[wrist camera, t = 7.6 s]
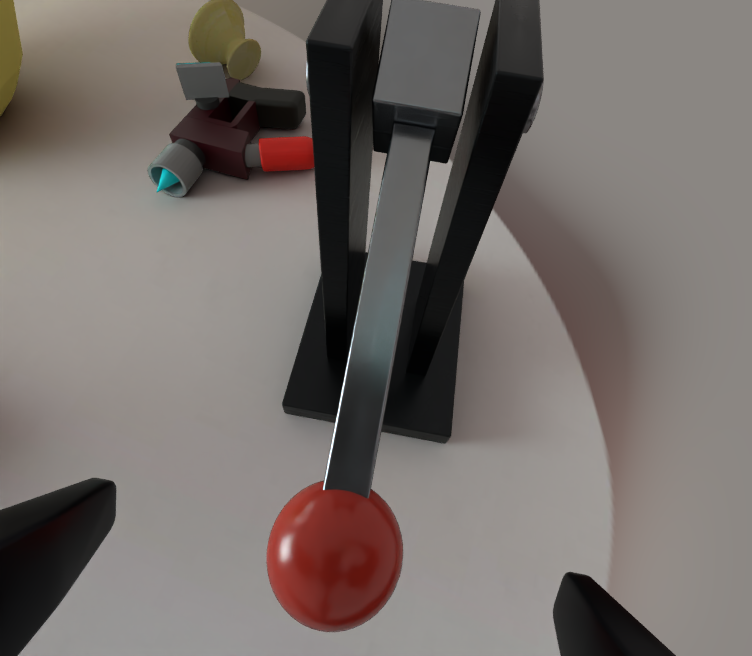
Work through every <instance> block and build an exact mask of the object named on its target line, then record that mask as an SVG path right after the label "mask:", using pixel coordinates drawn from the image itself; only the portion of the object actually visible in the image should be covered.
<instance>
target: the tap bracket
mask: <svg viewBox="0 0 752 656" xmlns="http://www.w3.org/2000/svg"><path fill="white" fill-rule="evenodd" d="M382 5H383V0H327V1H326V3H325V5H324V7H323V9H322V11H321V12H320V15H319V16H318V18H317V21H316V22H315V24H314V26H313V28H312V30H311V32H310V34H309V36H308V38H307V40H306V51H307V65H306V83H307V90H308V94H309V96H310V111H311V126H312V140H313V155H314V170H315V185H316V200H317V215H318V230H319V245H320V260H321V277H320V280H319V283H318V287H317V290H316V293H315V297H314V300H313V303H312V306H311V310H310V313H309V316H308V320H307V323H306V326H305V330H304V333H303V336H302V339H301V343H300V346H299V349H298V353H297V356H296V359H295V363H294V366H293V369H292V372H291V376H290V379H289V382H288V386H287V389H286V392H285V396H284V399H283V402H282V406H283V409H284V412H285V413H287V414H292V415H298V416H303V417H308V418H313V419H319V420H324V421H329V422H334V423H335V422H336V417H337V411H338V406H339V401H340V396H341V391H342V386H343V380H344V375H345V370H346V365H347V360H348V354H349V349H350V344H351V339H352V334H353V328H354V323H355V318H356V313H357V308H358V302H359V297H360V292H361V287H362V282H363V276H364V271H365V266H366V261H367V256H368V253H367V252H365V250H366V235H367V221H368V206H369V192H370V178H371V163H372V149H373V124H372V95H373V90H374V85H375V80H376V75H377V70H378V62H379V48H380V32H381V19H382ZM543 80H544V78H543V60H542V41H541V22H540V4H539V0H496V1H495V5H494V8H493V12H492V16H491V20H490V24H489V27H488V31H487V35H486V39H485V43H484V47H483V50H482V54H481V58H480V62H479V66H478V69H477V73H476V77H475V81H474V85H473V88H472V92H471V96H470V100H469V104H468V107H467V111H466V115H465V119H464V123H463V127H462V130H461V134H460V138H459V142H458V146H457V150H456V153H455V157H454V161H453V165H452V168H451V172H450V176H449V180H448V184H447V187H446V191H445V195H444V199H443V203H442V207H441V210H440V214H439V218H438V222H437V226H436V229H435V233H434V237H433V241H432V245H431V248H430V252H429V256H428V260H427V263H423V262H418V261H412V264H411V269H410V275H409V280H408V286H407V291H406V297H405V303H404V308H403V314H402V319H401V325H400V330H399V336H398V341H397V347H396V352H395V358H394V363H393V369H392V374H391V380H390V386H389V391H388V397H387V402H386V408H385V413H384V419H383V424H382V430H381V431H382V432H387V433H392V434H397V435H403V436H408V437H413V438H418V439H423V440H429V441H434V442H439V443H446V442H447V441H448V439H449V438H450V437H451V430H452V418H453V406H454V394H455V382H456V370H457V358H458V346H459V334H460V322H461V310H462V298H463V286H464V279H465V276H466V274H467V271H468V269H469V266H470V264H471V261H472V259H473V256H474V254H475V251H476V249H477V246H478V244H479V241H480V239H481V236H482V234H483V231H484V229H485V226H486V224H487V221H488V219H489V216H490V214H491V211H492V209H493V206H494V203H495V201H496V198H497V196H498V193H499V191H500V189H501V186H502V184H503V181H504V179H505V176H506V173H507V171H508V168H509V166H510V163H511V161H512V158H513V156H514V153H515V151H516V148H517V146H518V143H519V141H520V138H521V136H522V133H527V132H528V130H529V129H530V127H531V125H532V123H533V121H534V119H535V116H536V113H537V110H538V107H539V104H540V100H541V96H542V90H543Z"/></svg>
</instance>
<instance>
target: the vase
mask: <svg viewBox="0 0 752 656" xmlns="http://www.w3.org/2000/svg"><path fill="white" fill-rule="evenodd" d="M22 55H23V54H22V48H21V42H20V36H19V31H18V25H17V19H16V13H15V7H14V2H13V0H0V116H1V115H2V113H3V112H4V110H5V109H6V107H7V106H8V104H9V102H10V101H11V99H12V97H13V94H14V92H15V89H16V86H17V83H18V77H19V72H20V66H21V60H22Z"/></svg>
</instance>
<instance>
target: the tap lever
mask: <svg viewBox="0 0 752 656" xmlns="http://www.w3.org/2000/svg"><path fill="white" fill-rule="evenodd" d="M479 19H480V10H479V9H474V8H468V7H461V6H455V5H449V4H442V3H436V2H429V1H423V0H391V5H390V10H389V15H388V20H387V25H386V30H385V35H384V40H383V45H382V50H381V55H380V60H379V65H378V70H377V75H376V80H375V85H374V90H373V95H372V124H373V150H374V151H376V152H381V153H387V157H386V162H385V167H384V172H383V178H382V183H381V188H380V193H379V198H378V204H377V209H376V214H375V219H374V224H373V230H372V235H371V240H370V245H369V250H368V256H367V261H366V266H365V271H364V276H363V282H362V287H361V292H360V297H359V302H358V308H357V313H356V318H355V323H354V328H353V334H352V339H351V344H350V349H349V354H348V360H347V365H346V370H345V375H344V380H343V386H342V391H341V396H340V401H339V406H338V411H337V417H336V422H335V427H334V432H333V437H332V443H331V448H330V453H329V458H328V463H327V469H326V474H325V479H324V481H320V482H317V483H314V484H312V485H310V486H308V487H306V488H304V489H303V490H301V491H300V492H299V493H297V494H296V495H295V496H294V497H293V498H292V499H291V500H290V501H289V502H288V503H287V504H286V505H285V506H284V508H283V509H282V510H281V512H280V513H279V515H278V517H277V519H276V521H275V523H274V525H273V527H272V530H271V533H270V537H269V540H268V547H267V571H268V576H269V581H270V584H271V587H272V590H273V592H274V594H275V596H276V598H277V600H278V601H279V603H280V604H281V606H282V607H283V608H284V610H285V611H286V612H287V613H288V614H289V615H290V616H291V617H292V618H294V619H295V620H296V621H298V622H299V623H301V624H302V625H304V626H306V627H309V628H311V629H314V630H318V631H323V632H340V631H346V630H349V629H353V628H355V627H357V626H360V625H362V624H364V623H365V622H367V621H368V620H370V619H371V618H372V617H374V616H375V615H376V614H377V613H378V612H379V611H380V610H381V609H382V608H383V607H384V605H385V604H386V603H387V601H388V600H389V599H390V597H391V595H392V594H393V592H394V590H395V588H396V585H397V582H398V580H399V577H400V573H401V569H402V561H403V542H402V535H401V532H400V528H399V525H398V522H397V520H396V517H395V515H394V514H393V512H392V510H391V508H390V507H389V506H388V504H387V503H386V502H385V501H384V500H383V499H382V498H381V497H380V496H379V495H378V494H377V493H376V492H375V491H373V490H372V489H371V485H372V480H373V474H374V468H375V463H376V457H377V452H378V446H379V441H380V435H381V430H382V424H383V419H384V413H385V408H386V402H387V397H388V391H389V386H390V380H391V374H392V369H393V363H394V358H395V352H396V347H397V341H398V336H399V330H400V325H401V319H402V314H403V308H404V303H405V297H406V291H407V286H408V280H409V275H410V269H411V264H412V258H413V253H414V247H415V242H416V236H417V231H418V225H419V220H420V214H421V209H422V203H423V197H424V192H425V186H426V181H427V175H428V170H429V164H430V161H434V162H440V163H447V162H448V160H449V157H450V153H451V150H452V147H453V144H454V141H455V138H456V135H457V131H458V128H459V125H460V122H461V119H462V115H463V111H464V105H465V99H466V93H467V88H468V82H469V76H470V71H471V65H472V59H473V53H474V48H475V42H476V36H477V30H478V25H479Z"/></svg>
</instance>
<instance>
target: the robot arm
mask: <svg viewBox="0 0 752 656" xmlns="http://www.w3.org/2000/svg"><path fill="white" fill-rule="evenodd" d="M115 516H116V485H115V483H114V482H113V481H110V480H105V479H100V478H91V479H88V480H85V481H82V482H79V483H76V484H73V485H71V486H68V487H65V488H62V489H59V490H56V491H54V492H51V493H48V494H45V495H42V496H39V497H36V498H34V499H31V500H28V501H25V502H22V503H19V504H17V505H14V506H11V507H8V508H5V509H2V510H0V656H18V655H19V653H20V652H21V651H22V650H23V648H24V647H25V646H26V645H27V644H28V642H29V641H30V640H31V639H32V637H33V636H34V635H35V634H36V633H37V631H38V630H39V629H40V628H41V626H42V625H43V624H44V623H45V622H46V620H47V619H48V618H49V617H50V615H51V614H52V613H53V611H54V610H55V609H56V608H57V606H58V605H59V604H60V602H61V601H62V600H63V598H64V597H65V595H66V594H67V593H68V591H69V590H70V588H71V587H72V585H73V584H74V583H75V581H76V580H77V578H78V577H79V575H80V574H81V572H82V571H83V569H84V568H85V566H86V565H87V563H88V562H89V561H90V559H91V558H92V556H93V555H94V553H95V552H96V550H97V549H98V547H99V546H100V544H101V543H102V542H103V540H104V539H105V537H106V536H107V534H108V533H109V531H110V530H111V528H112V526H113V524H114V521H115ZM553 618H554V624H555V629H556V634H557V639H558V644H559V650H560V655H561V656H676V655H674V654H673V653H672V652H671V651H670V650H669V649H668V648H667V647H666V646H665V645H664V644H662V642H660V641H659V640H658V639H657V638H656V637H655V636H654V635H653V634H652V633H651V632H650V631H648V630H647V629H646V628H645V627H644V626H643V625H642V624H641V623H640V622H639V621H638V620H636V619H635V618H634V617H633V616H632V615H631V614H630V613H629V612H628V611H627V610H626V609H624V608H623V607H622V606H621V605H620V604H619V603H618V602H617V601H616V600H615V599H614V598H612V597H611V596H610V595H609V594H608V593H607V592H606V591H605V590H604V589H603V588H602V587H601V586H600V585H598V584H597V583H596V582H595V581H594V580H593V579H592V578H591V577H589V576H587V575H583V574H578V573H573V572H567V573H566V574H565V575H564V577H563V579H562V582H561V585H560V588H559V591H558V594H557V597H556V600H555V603H554V608H553Z"/></svg>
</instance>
